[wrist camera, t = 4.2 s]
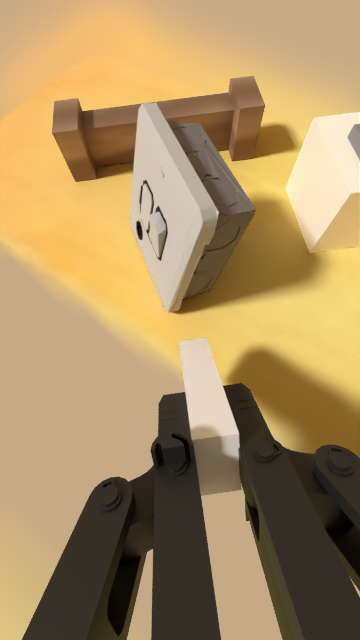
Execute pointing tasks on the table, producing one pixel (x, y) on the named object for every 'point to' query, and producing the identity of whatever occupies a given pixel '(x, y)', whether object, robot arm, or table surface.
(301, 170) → the socket block
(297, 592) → the robot arm
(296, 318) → the table surface
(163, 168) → the electrical switch
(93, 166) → the bracket
